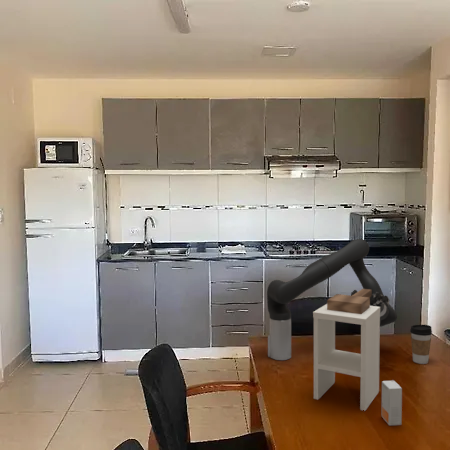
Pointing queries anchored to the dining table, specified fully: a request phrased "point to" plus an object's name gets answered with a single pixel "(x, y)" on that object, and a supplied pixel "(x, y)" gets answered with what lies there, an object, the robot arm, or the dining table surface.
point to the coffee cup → (421, 343)
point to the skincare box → (391, 403)
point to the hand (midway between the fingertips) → (365, 293)
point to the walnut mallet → (350, 302)
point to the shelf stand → (347, 361)
